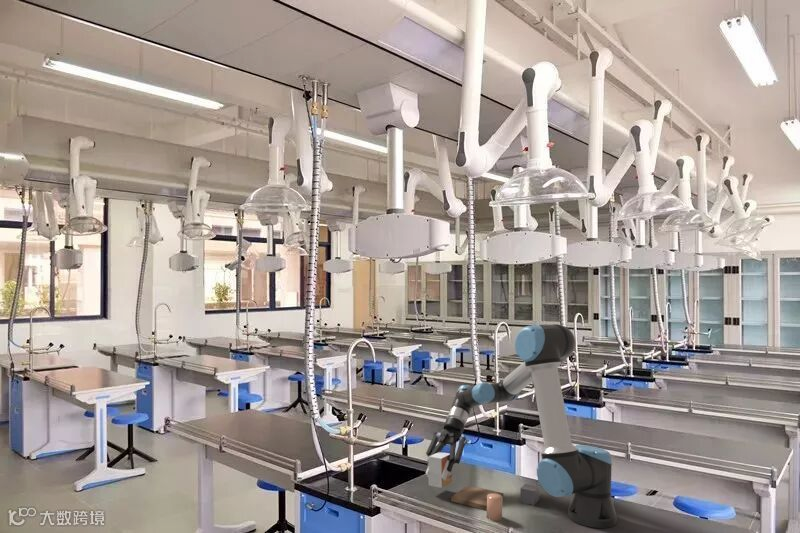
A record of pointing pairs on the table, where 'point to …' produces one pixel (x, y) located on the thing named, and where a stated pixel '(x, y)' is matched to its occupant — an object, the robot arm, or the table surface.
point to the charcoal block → (529, 494)
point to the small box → (438, 469)
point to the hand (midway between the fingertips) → (435, 476)
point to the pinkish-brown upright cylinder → (494, 507)
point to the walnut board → (473, 497)
